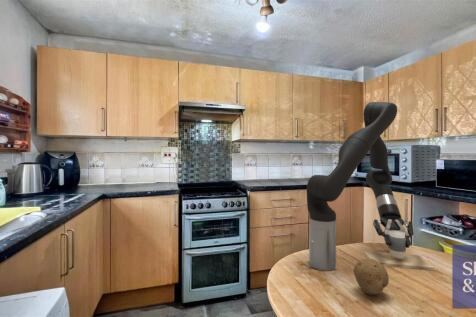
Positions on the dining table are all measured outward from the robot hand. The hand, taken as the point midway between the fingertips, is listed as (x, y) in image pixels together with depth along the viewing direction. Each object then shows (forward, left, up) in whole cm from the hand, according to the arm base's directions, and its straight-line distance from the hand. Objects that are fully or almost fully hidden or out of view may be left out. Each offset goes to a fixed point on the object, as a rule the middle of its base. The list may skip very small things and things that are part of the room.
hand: (398, 246), depth 92 cm
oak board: (0, +2, -7) cm, 7 cm away
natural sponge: (-16, -24, -7) cm, 30 cm away
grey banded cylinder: (0, +2, -4) cm, 5 cm away
